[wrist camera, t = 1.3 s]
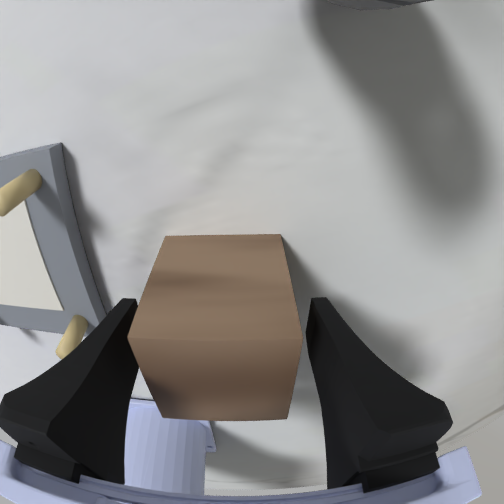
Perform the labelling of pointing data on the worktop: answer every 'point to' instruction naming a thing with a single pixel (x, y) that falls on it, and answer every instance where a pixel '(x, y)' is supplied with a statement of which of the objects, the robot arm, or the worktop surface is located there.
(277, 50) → the worktop surface
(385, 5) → the light bulb
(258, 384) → the walnut block
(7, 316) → the standoff board
